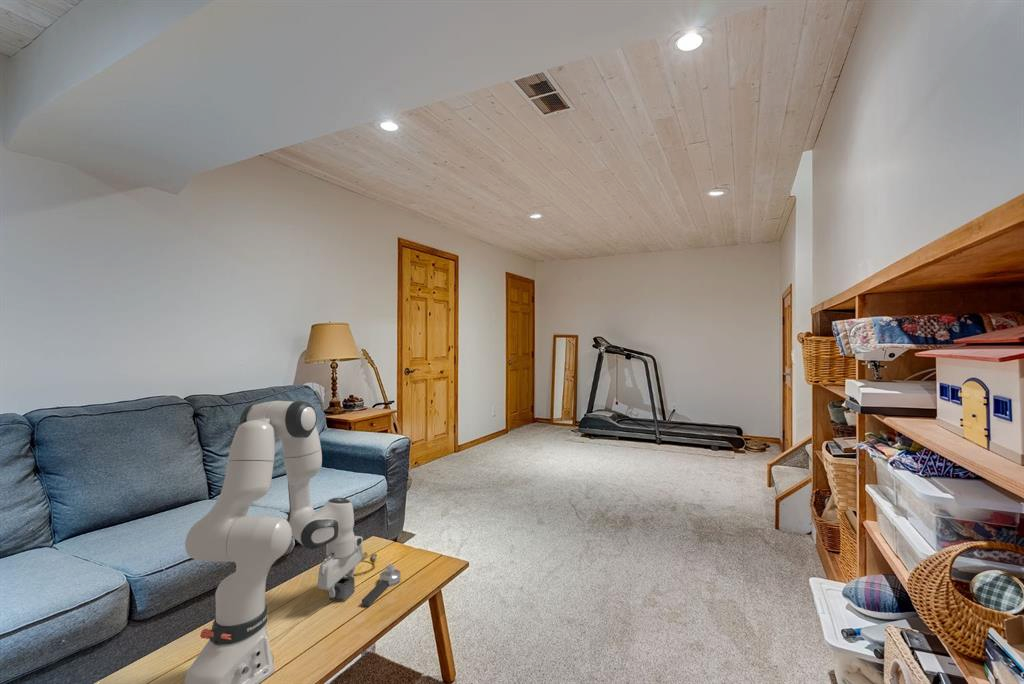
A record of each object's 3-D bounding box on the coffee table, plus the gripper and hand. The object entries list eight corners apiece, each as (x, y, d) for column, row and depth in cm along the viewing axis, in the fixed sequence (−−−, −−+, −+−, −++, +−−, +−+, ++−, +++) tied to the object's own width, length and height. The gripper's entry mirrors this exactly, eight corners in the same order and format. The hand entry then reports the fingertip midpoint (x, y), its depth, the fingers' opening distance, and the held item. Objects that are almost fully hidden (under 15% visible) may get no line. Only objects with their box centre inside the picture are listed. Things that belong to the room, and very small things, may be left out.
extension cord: (389, 561, 178) (389, 556, 178) (357, 580, 164) (357, 574, 164) (366, 555, 184) (366, 550, 184) (334, 572, 170) (333, 567, 170)
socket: (344, 601, 150) (344, 586, 150) (329, 599, 151) (329, 584, 151) (354, 592, 155) (354, 577, 155) (339, 590, 156) (339, 575, 156)
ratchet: (375, 608, 146) (374, 590, 146) (355, 605, 147) (355, 588, 147) (404, 577, 165) (403, 561, 165) (386, 575, 166) (386, 560, 166)
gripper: (329, 563, 143) (330, 607, 143) (365, 535, 162) (366, 574, 163) (312, 561, 144) (313, 605, 144) (349, 533, 164) (350, 572, 164)
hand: (341, 588), depth 153 cm, fingers open, 8 cm apart
